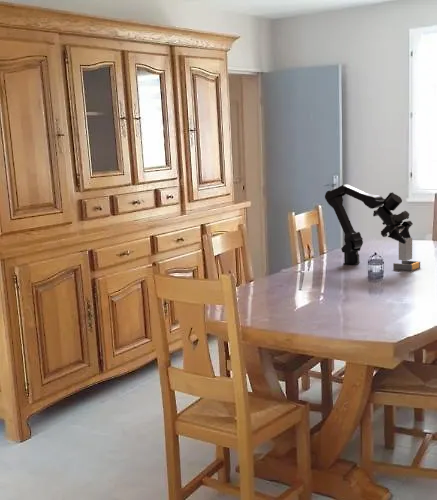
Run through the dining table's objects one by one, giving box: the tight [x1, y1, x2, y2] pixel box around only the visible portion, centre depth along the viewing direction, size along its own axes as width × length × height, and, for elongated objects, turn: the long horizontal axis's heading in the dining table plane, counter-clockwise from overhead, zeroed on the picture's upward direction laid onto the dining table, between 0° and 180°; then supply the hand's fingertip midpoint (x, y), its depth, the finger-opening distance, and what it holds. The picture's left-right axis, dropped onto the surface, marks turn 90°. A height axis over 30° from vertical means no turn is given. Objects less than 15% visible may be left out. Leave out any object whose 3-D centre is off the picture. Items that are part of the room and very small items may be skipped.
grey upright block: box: [398, 237, 413, 261], centre depth 303 cm, size 4×5×10 cm
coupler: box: [393, 260, 421, 272], centre depth 307 cm, size 9×9×3 cm
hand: (408, 242), depth 301 cm, fingers closed on grey upright block, 5 cm apart
